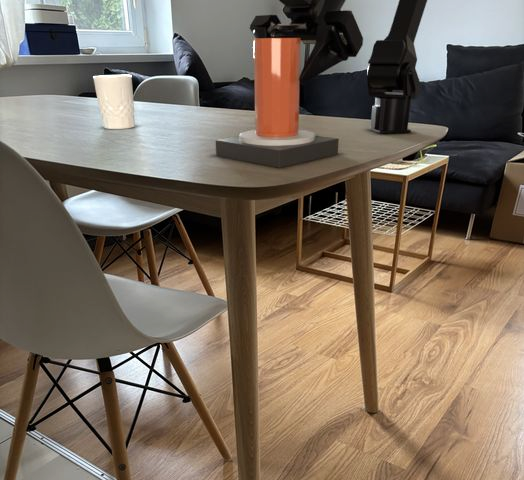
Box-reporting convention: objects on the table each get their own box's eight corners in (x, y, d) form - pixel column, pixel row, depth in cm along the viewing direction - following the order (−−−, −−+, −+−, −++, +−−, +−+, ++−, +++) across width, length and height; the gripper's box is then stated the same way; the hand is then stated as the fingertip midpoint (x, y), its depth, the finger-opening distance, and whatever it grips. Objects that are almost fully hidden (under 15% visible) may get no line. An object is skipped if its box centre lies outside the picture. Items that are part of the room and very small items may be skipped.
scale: (274, 144, 91) (274, 125, 89) (337, 154, 83) (339, 133, 81) (216, 155, 83) (215, 134, 81) (279, 167, 74) (279, 144, 72)
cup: (267, 129, 85) (266, 38, 78) (304, 132, 82) (307, 38, 76) (248, 135, 80) (245, 38, 73) (287, 138, 77) (288, 37, 70)
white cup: (133, 129, 109) (126, 76, 104) (96, 129, 109) (87, 77, 104) (141, 124, 116) (135, 74, 111) (107, 124, 116) (99, 75, 111)
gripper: (256, -48, 77) (206, 38, 76) (358, -65, 66) (301, 36, 65) (290, 15, 86) (245, 92, 85) (385, 10, 75) (335, 99, 74)
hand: (277, 81), depth 77 cm, fingers open, 9 cm apart
